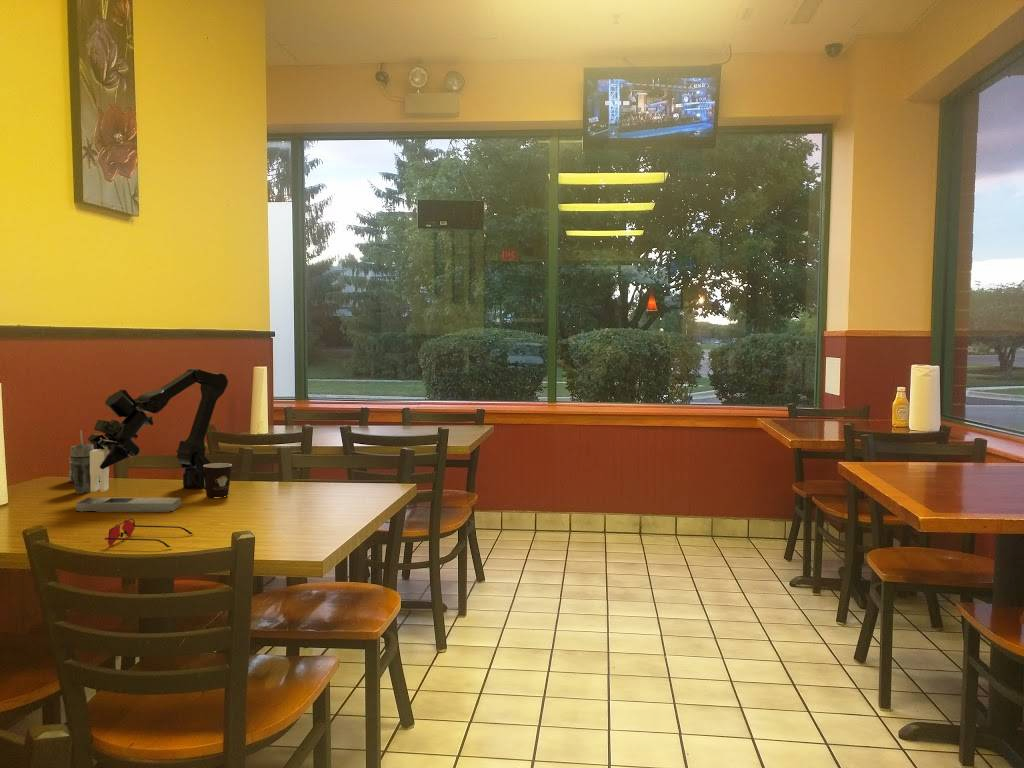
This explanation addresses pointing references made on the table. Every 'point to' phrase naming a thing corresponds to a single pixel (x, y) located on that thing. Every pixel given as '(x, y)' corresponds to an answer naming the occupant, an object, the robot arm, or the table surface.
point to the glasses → (128, 530)
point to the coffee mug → (216, 479)
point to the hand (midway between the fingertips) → (95, 467)
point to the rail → (128, 504)
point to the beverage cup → (81, 466)
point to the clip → (99, 470)
